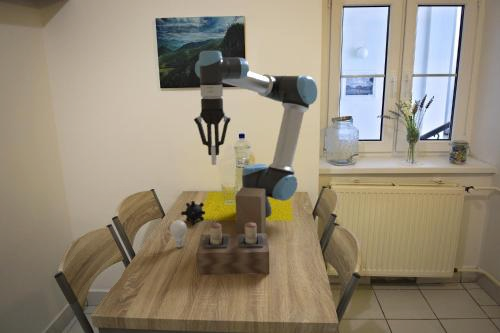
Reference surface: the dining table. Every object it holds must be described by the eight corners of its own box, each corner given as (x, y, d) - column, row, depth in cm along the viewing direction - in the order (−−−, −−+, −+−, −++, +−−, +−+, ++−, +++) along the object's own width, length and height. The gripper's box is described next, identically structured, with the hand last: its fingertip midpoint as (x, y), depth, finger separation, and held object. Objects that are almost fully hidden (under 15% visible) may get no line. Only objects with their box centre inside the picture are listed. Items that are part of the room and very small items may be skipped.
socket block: (197, 274, 124) (196, 251, 122) (202, 254, 138) (201, 232, 135) (269, 273, 124) (269, 250, 122) (267, 253, 138) (267, 231, 135)
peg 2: (248, 243, 132) (248, 221, 130) (258, 246, 130) (258, 223, 128) (243, 248, 129) (242, 225, 126) (253, 251, 127) (252, 228, 124)
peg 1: (214, 244, 132) (213, 222, 130) (224, 246, 130) (223, 224, 128) (208, 249, 129) (207, 226, 126) (217, 251, 127) (216, 228, 124)
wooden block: (261, 245, 143) (261, 196, 138) (236, 243, 145) (235, 195, 140) (265, 234, 153) (265, 188, 148) (242, 232, 155) (241, 187, 150)
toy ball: (212, 210, 172) (209, 213, 160) (196, 226, 172) (192, 231, 160) (195, 194, 172) (191, 196, 160) (180, 210, 172) (174, 214, 160)
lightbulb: (179, 242, 148) (178, 216, 145) (191, 246, 144) (189, 219, 141) (167, 248, 143) (165, 221, 140) (179, 252, 139) (177, 225, 136)
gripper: (191, 98, 125) (194, 166, 131) (229, 98, 125) (231, 166, 131) (194, 97, 132) (197, 161, 138) (231, 96, 132) (232, 161, 138)
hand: (214, 163), depth 134 cm, fingers closed
